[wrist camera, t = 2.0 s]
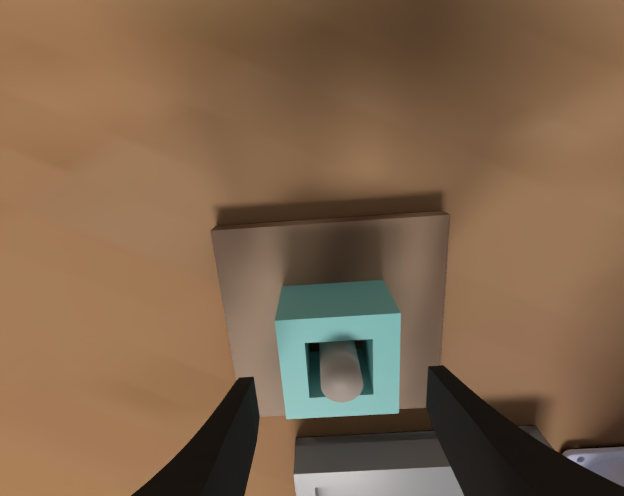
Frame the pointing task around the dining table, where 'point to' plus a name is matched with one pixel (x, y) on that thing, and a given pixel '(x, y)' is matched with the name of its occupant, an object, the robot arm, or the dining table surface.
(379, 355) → the collar
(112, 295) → the dining table surface
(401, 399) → the stake board
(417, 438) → the tray
